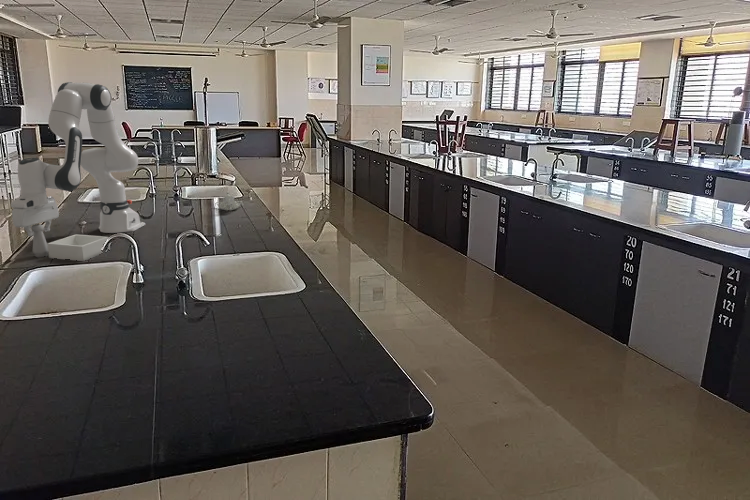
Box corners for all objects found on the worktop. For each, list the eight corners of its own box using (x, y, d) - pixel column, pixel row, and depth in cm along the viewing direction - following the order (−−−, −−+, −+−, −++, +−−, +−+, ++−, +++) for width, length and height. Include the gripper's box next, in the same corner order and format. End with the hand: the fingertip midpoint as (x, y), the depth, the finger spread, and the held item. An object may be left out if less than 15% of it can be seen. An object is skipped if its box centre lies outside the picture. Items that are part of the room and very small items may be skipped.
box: (77, 247, 247) (75, 234, 246) (110, 250, 244) (108, 236, 242) (49, 258, 232) (47, 243, 231) (83, 261, 229) (82, 246, 227)
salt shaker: (34, 254, 236) (30, 223, 233) (50, 253, 238) (46, 222, 235) (32, 258, 231) (27, 226, 228) (48, 257, 233) (44, 225, 230)
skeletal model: (243, 205, 343) (243, 181, 322) (243, 219, 339) (244, 195, 318) (215, 206, 339) (213, 181, 318) (215, 219, 335) (214, 196, 314)
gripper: (47, 194, 240) (51, 227, 243) (7, 203, 220) (12, 239, 224) (60, 195, 238) (64, 228, 242) (21, 204, 219) (26, 240, 223)
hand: (39, 233), depth 233 cm, fingers open, 7 cm apart
